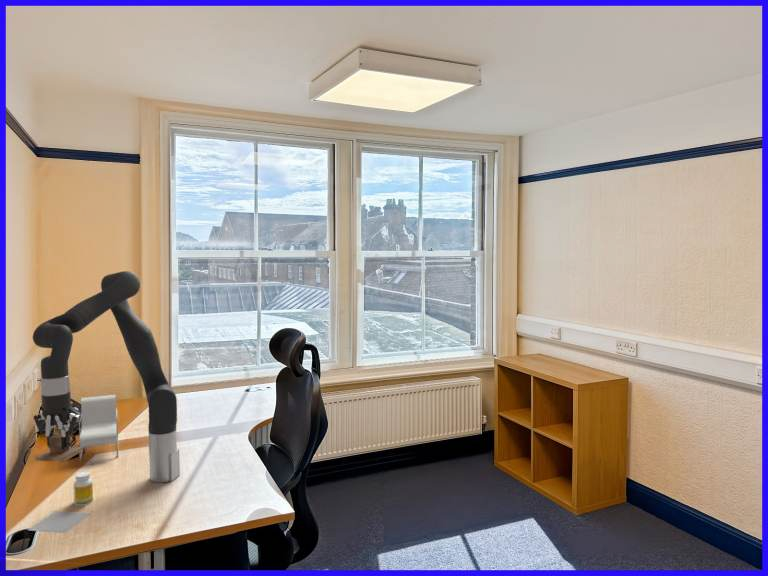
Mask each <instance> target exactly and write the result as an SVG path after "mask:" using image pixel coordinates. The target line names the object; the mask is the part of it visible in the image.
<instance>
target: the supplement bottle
mask: <svg viewBox="0 0 768 576" xmlns="http://www.w3.org/2000/svg"><path fill="white" fill-rule="evenodd" d="M90 477H91V474H90V472H89V471H82V472H78V473H77V474H76V475H75V481H74V482H73V502H74V503H73V504H74V505H75V506H80V507H81V506H86V505H90V504H91V503H92V502H93V501H94V492H93V479H92V478H90Z"/></svg>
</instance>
